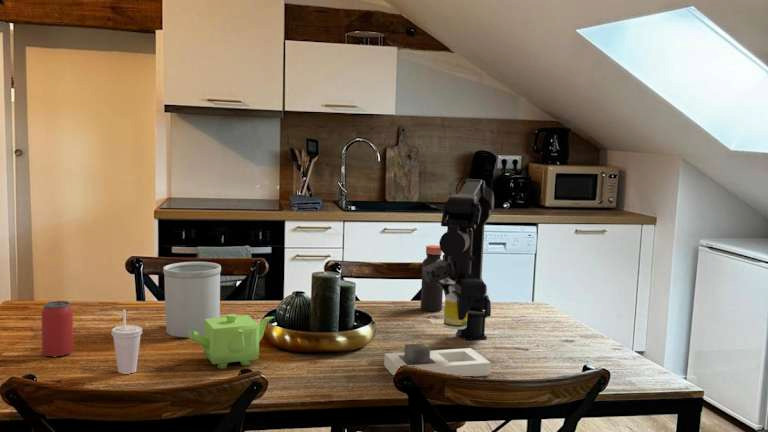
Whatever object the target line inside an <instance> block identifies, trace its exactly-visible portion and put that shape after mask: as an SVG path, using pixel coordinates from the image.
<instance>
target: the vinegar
mask: <svg viewBox="0 0 768 432" xmlns="http://www.w3.org/2000/svg"><path fill="white" fill-rule="evenodd" d="M442 254H443V252H442V250H441V249H440V245H436V244H435V245H434V244H432V245H429V244H428V245H426V246H425V255H426V258H424V260H423V261H422V263H421V264H422V265H421V269H422V268H423V267H425V266H427V265H430V264H432V263H435V262H439V261H441V260H442V259H443V258H441V256H442ZM437 282H440V280H439V281H437ZM420 290H421V293H420V309H421V310H422V311H424V312H433V313H434V312H441V311H442V310H443V293H444V290H443V289H442V288H441V287H440V286H439V285H438V284H437V283H434V284H430V283H429V282H428V281H425V278H424V274H423V271H422V270H421V288H420Z"/></svg>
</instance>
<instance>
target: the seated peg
mask: <svg viewBox="0 0 768 432" xmlns="http://www.w3.org/2000/svg"><path fill="white" fill-rule="evenodd" d="M430 351H431V348H429V347H428V346H427V345H426V344H424V343H412V344H411V343H410V344H408V343H407V344H404V352H405V355H404V362H405V363H406V364H407V365H419V364H429V363H430Z"/></svg>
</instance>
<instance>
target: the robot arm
mask: <svg viewBox="0 0 768 432" xmlns="http://www.w3.org/2000/svg"><path fill="white" fill-rule="evenodd" d="M494 207H495V196H494V191H493V189H491V188H489V186H487V185H486V181H485V180H483V179H473V178H468V179H464V183H463V187H462V188H461V189H460V191H459V192H458V193H455V194H451V195H449V196H448V197H447V200H445V202H444V206H443V211H442V217H441V222H440V227H446V228H447V230H446V232H444V233H442V236H441V237H440V239H439V242H438V243H439V246H440V249H441V250H442V254H443V255H442V258H441V259H442V260H441V261H439V262H435V263H432V264H430V265H427V266H425V267H423V268H422V267H421V272H422V271H423V274H424V278H425V281H428V282H429V283H430V284H434V283H437V284H438V285H439V286H440V287H441V288H442V289H443V293H444V296H445V297H446V295H447V294H449V293H450V292H449V285H452V284H455V290H456V291H452V293H453V294H454V295H455V296H456V297H457V308H458V319H459V320H463V319H464V318H465V316H466V314H467V312H468V314H467V327H466V328H465V329H457V331H456V332H455V333H456V335H458V336H459V337H461V338H463V340H467V341H470V340H483V339H484V340H486V339H488V336H486V335H485V330H486V319H488V318H489V317H491V316H492V315H491V314H492V313H491V312H492V304H491V302H492V301H491V300H490V297H489V295H488V293H487V292H488V286H487V284H486V283H485V282H484V280H483V278H482V275H483V257H484V240H485V239H484V238H485V237H484V236H485V226H486V223H487V222H488V221H489V219H490V217H491V216H492V211H494ZM439 280H440V282H437V281H439ZM445 297H444V298H445Z"/></svg>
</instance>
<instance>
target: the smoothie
mask: <svg viewBox="0 0 768 432" xmlns="http://www.w3.org/2000/svg"><path fill="white" fill-rule="evenodd" d="M126 313H127V312H126V308H125V309H122V325H119V326H116V327H114V328H112V329H111V336H112V338H113V343H114V344H113V345H114V352H115V357H116V358H115V359H116V365H117V366H116V367H117V372H119V373H123V374H129V375H131V374H130V373H133V374H135V373H136V372H137V369H138V368H137V366H138V360H139V359H138V357H139V352H140V343H141V342H140V341H141V337H142V336H141V335H142V334H143V327H141V326H140V325H133V324H129V325H127V322H126V321H127V320H126V319H127V318H126V317H127V316H126ZM134 372H135V373H134ZM119 373H118V374H119Z"/></svg>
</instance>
